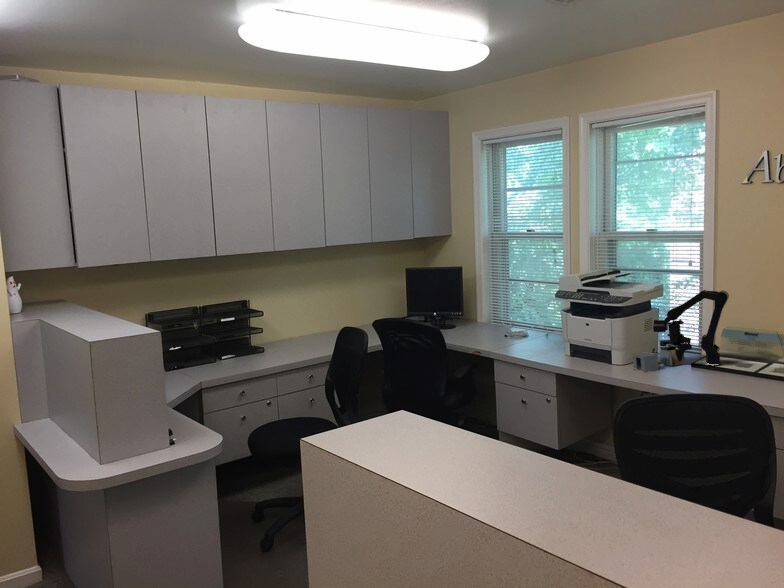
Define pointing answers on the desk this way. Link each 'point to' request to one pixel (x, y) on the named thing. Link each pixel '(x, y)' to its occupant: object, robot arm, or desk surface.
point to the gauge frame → (645, 361)
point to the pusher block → (675, 359)
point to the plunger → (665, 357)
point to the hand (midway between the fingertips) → (676, 360)
